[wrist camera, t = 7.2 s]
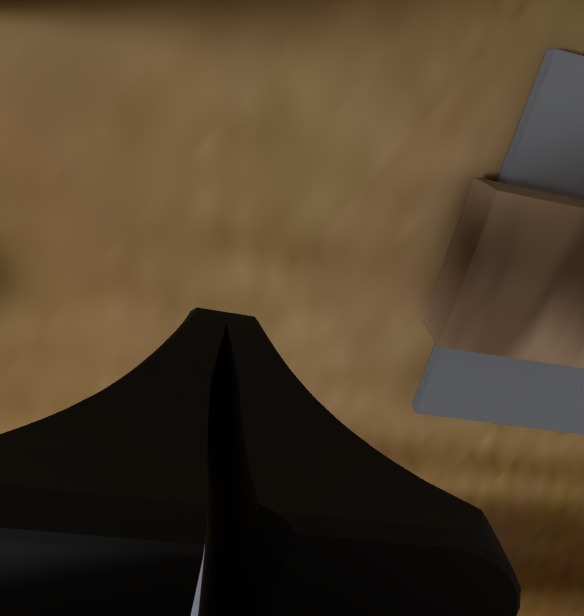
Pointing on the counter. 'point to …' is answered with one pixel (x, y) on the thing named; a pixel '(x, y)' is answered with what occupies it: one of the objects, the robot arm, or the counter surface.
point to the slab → (513, 277)
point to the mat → (504, 370)
